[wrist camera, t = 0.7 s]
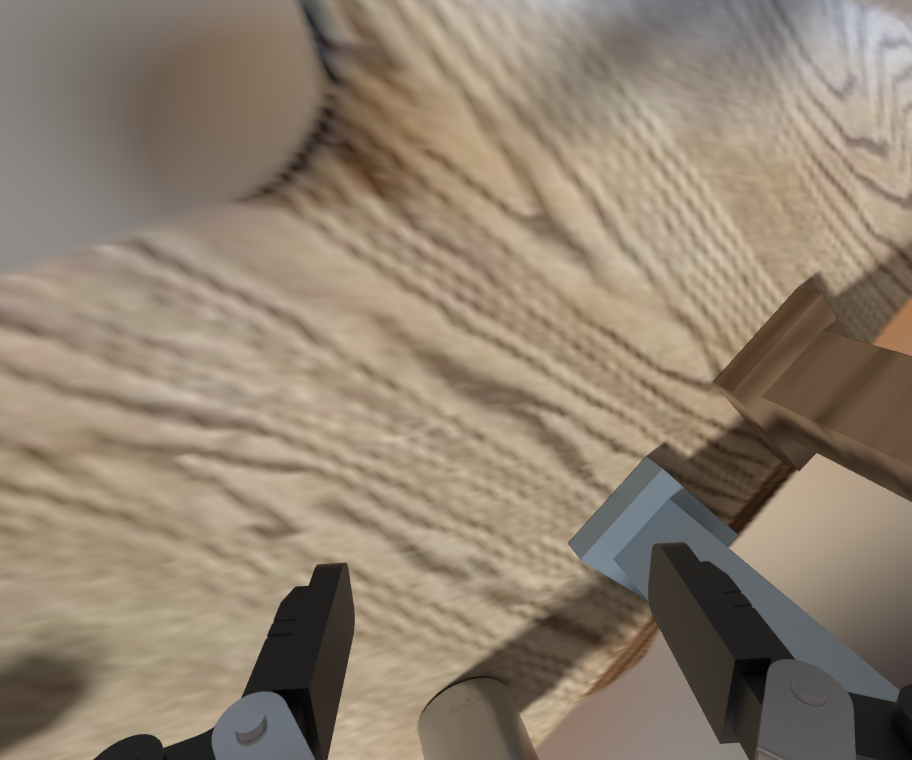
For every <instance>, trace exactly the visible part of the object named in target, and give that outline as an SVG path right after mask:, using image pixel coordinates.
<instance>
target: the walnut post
mask: <svg viewBox="0 0 912 760" xmlns="http://www.w3.org/2000/svg"><path fill="white" fill-rule="evenodd" d="M713 383H714V385H715V386H716V387H717V388H718V389H719V390H720V391H721V393H722V394H723V395H724V396H725V397H726V398H727V399H728V401H729V402H730V403H731V404H732V405H733V406H734V408H735V409H736V410H737V411H738V412H739V413H740V414H741V416H742V417H743V418H744V419H745V420H746V421H747V422H748V424H749V425H750V426H751V427H752V428H753V429H754V430H755V432H756V433H757V434H758V435H759V436H760V437H761V439H762V440H763V441H764V442H765V443H766V444H767V445H768V447H769V448H770V449H771V450H772V451H773V452H774V453H775V455H776V456H777V457H778V458H779V459H780V460H781V461H783V462H785V463H786V464H788V465H790V466H792V467H793V468H795V469H797V470H799V471H800V470H801V469H802V468H803V467H804V466H805V465H806V464H807V462H808V461H809V460H810V459H811V458H812V457H813V456H814V455H815V454H816V453H818V454H820V455H822V456H824V457H826V458H828V459H830V460H832V461H834V462H836V463H838V464H839V465H841V466H843V467H845V468H847V469H849V470H851V471H853V472H855V473H857V474H859V475H861V476H863V477H865V478H866V479H868V480H870V481H872V482H874V483H876V484H878V485H880V486H882V487H884V488H886V489H888V490H890V491H892V492H894V493H895V494H897V495H899V496H901V497H903V498H905V499H907V500H909V501H911V502H912V356H910V355H906V354H903V353H900V352H896V351H892V350H889V349H885V348H882V347H878V346H875V345H871V344H868V343H864V342H861V341H857V340H854V339H850V338H848V337H847V335H846V333H845V332H844V330H843V328H842V326H841V325H840V323H839V321H838V320H837V318H836V316H835V314H834V313H833V311H832V309H831V307H830V306H829V304H828V302H827V301H826V299H825V297H824V295H823V294H822V293H821V292H816V291H811V290H807V289H802V288H797V289H796V290H795V292H794V293H793V294H792V295H791V296H790V297H789V298H788V299H787V300H786V302H785V303H784V304H783V305H782V306H781V307H780V308H779V309H778V310H777V312H776V313H775V314H774V315H773V316H772V317H771V318H770V319H769V321H768V322H767V323H766V324H765V325H764V326H763V327H762V328H761V329H760V331H759V332H758V333H757V334H756V335H755V336H754V337H753V338H752V339H751V341H750V342H749V343H748V344H747V345H746V346H745V347H744V348H743V349H742V351H741V352H740V353H739V354H738V355H737V356H736V357H735V358H734V359H733V361H732V362H731V363H730V364H729V365H728V366H727V367H726V368H725V369H724V371H723V372H722V373H721V374H720V375H719V376H718V377H717V378H716V380H715V381H714V382H713Z"/></svg>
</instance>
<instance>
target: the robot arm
mask: <svg viewBox="0 0 912 760" xmlns="http://www.w3.org/2000/svg"><path fill="white" fill-rule="evenodd" d="M648 600H649V605H650V609H651V612H652V615H653V617H654V619H655V621H656V623H657V625H658V627H659V628H660V630H661V632H662V634H663V636H664V638H665V640H666V642H667V644H668V646H669V647H670V649H671V651H672V653H673V655H674V657H675V659H676V661H677V663H678V665H679V666H680V668H681V670H682V672H683V674H684V676H685V678H686V680H687V681H688V684H689V686H690V687H691V689H692V691H693V693H694V695H695V697H696V699H697V700H698V703H699V705H700V706H701V708H702V710H703V712H704V714H705V716H706V718H707V720H708V722H709V723H710V725H711V727H712V729H713V731H714V733H715V735H716V737H717V739H718V740H719V742H720V744H724V743H740V744H741V746H742V748H743V750H744V751H745V753H746V755H747V757H748V759H749V760H912V684H910V685H907V686H905V687H903V688H902V689H901V690H900V692H899V694H898V697H897V700H896V702H893V701H888V700H883V699H879V698H874V697H869V696H865V695H860V694H855V693H851V692H847V691H846V690H845V689H844V687H843V686H842V685H841V684H840V683H839V682H838V681H837V680H836V679H835V678H833V677H832V676H831V675H829V674H828V673H826V672H825V671H823V670H822V669H820V668H818V667H816V666H814V665H811V664H809V663H806V662H803V661H799V660H796V659H795V658H794V657H793V655H792V654H791V653H790V652H789V650H788V649H787V648H786V647H785V645H784V644H783V643H782V642H781V640H780V639H779V638H778V637H777V635H776V634H775V633H774V632H773V630H772V629H771V628H770V627H769V625H768V624H767V623H766V622H765V620H764V619H763V618H762V616H761V615H760V614H759V613H758V611H757V610H756V609H755V608H753V607H752V604H751V603H750V601H749V600H748V599H747V598H746V596H745V595H744V594H742V593H741V590H740V589H739V588H738V586H737V585H736V584H735V582H734V581H733V580H732V579H731V577H730V576H729V575H728V574H727V573H725V572H724V571H722V570H721V569H720V568H718V567H717V566H715V565H714V564H713V563H711V562H710V561H701V562H700V561H699V559H698V558H697V557H696V555H695V554H694V552H693V551H692V550H691V548H690V547H689V546H688V545H687V544H686V543H685V542H671V543H655V544H654V545H653V547H652V551H651V562H650V572H649V582H648ZM354 625H355V613H354V604H353V597H352V590H351V583H350V576H349V570H348V565H347V563H331V564H318V565H316V567H315V569H314V572H313V575H312V578H311V581H310V583H309V586H299V587H295V588H294V589H293V590H292V591H291V592H290V593H289V594H288V595H287V596H286V597H285V599H284V600H283V601H282V602H281V603H280V606H279V608H278V611H277V613H276V616H275V618H274V623H273V624H272V625H271V628H270V630H269V632H268V635H267V639H266V640H265V642H264V645H263V647H262V649H261V652H260V654H259V657H258V659H257V662H256V664H255V666H254V669H253V671H252V674H251V676H250V678H249V681H248V683H247V686H246V688H245V691H244V693H243V695H242V697H241V699H240V700H238V701H237V702H235V703H234V704H233V705H231V706H230V707H229V708H228V709H227V710H226V711H225V712H224V713H223V714H222V716H221V717H220V718H219V720H218V722H217V724H216V725H215V727H213V728H212V729H210V730H208V731H206V732H205V733H202V734H200V735H198V736H195V737H193V738H190V739H187V740H184V741H182V742H179V743H176V744H173V745H171V746H168V747H165V748H163V746H162V743H161V742H160V740H159V739H157V738H156V737H154V736H152V735H147V734H139V735H134V736H131V737H128V738H125V739H123V740H120V741H118V742H117V743H115V744H113V745H111V746H110V747H108V748H107V749H106V750H104V751H103V752H102V753H100V754H99V755H98V756H97V757H96V758H95V759H94V760H327V759H328V755H329V750H330V745H331V740H332V735H333V731H334V726H335V721H336V716H337V712H338V707H339V702H340V697H341V692H342V688H343V683H344V678H345V673H346V668H347V664H348V659H349V654H350V649H351V645H352V640H353V635H354ZM418 733H419V738H420V743H421V747H422V751H423V755H424V759H425V760H539V758H538V756H537V753H536V751H535V749H534V747H533V744H532V742H531V740H530V737H529V735H528V733H527V730H526V728H525V726H524V723H523V721H522V719H521V716H520V714H519V712H518V710H517V707H516V705H515V703H514V700H513V698H512V696H511V694H510V691H509V689H508V688H507V687H506V685H505V684H504V683H502V682H500V681H499V680H495V679H492V678H476V679H471V680H467V681H464V682H461V683H459V684H456V685H454V686H452V687H450V688H449V689H447V690H445V691H444V692H442V693H441V694H440V695H439V696H437V697H436V698H435V699H434V700H433V701H432V702H431V703H430V704H429V705H428V706H427V708H426V709H425V711H424V712H423V713H422V716H421V718H420V720H419V725H418Z"/></svg>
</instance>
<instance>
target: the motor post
mask: <svg viewBox="0 0 912 760" xmlns="http://www.w3.org/2000/svg"><path fill="white" fill-rule="evenodd" d="M738 536H739V535H738V534H736V533H735V532H734V531H733V530H732V529H731V528H730V527H728V526H727V525H726V524H725V523H724V522H723V521H722V520H720V519H719V518H718V517H717V516H716V515H715V514H714V513H712V512H711V511H710V510H709V509H708V508H707V507H706V506H705V505H703V504H702V503H701V502H700V501H699V500H698V499H697V498H695V497H694V496H693V495H692V494H691V493H690V492H689V491H687V490H686V489H685V488H684V487H683V486H682V485H681V484H679V483H678V482H677V481H676V480H675V479H674V478H673V477H672V476H670V475H669V474H668V473H667V472H666V471H665V470H664V469H662V468H661V467H660V466H658V465H657V464H656V463H655V462H653V461H652V460H651V459H649V458H648V457H647V456H646V457H645V459H644V460H643V461H642V462H641V463H640V464H639V465H638V466H637V467H636V469H635V470H634V471H633V472H632V473H631V474H630V475H629V476H628V477H627V479H626V480H625V481H624V482H623V483H622V484H621V485H620V486H619V487H618V489H617V490H616V491H615V492H614V493H613V494H612V495H611V496H610V497H609V499H608V500H607V501H606V502H605V503H604V504H603V505H602V506H601V507H600V509H599V510H598V511H597V512H596V513H595V514H594V515H593V516H592V518H591V519H590V520H589V521H588V522H587V523H586V524H585V525H584V526H583V528H582V529H581V530H580V531H579V532H578V533H577V534H576V535H575V536H574V538H573V539H572V540H571V541H570V542H569V543H568V544H569V545H570V547H571V548H572V549H573V551H574V552H575V553H576V555H577V556H578V557H579V558H580V560H582V561H584V562H585V563H587V564H588V565H590V566H592V567H593V568H595V569H597V570H598V571H600V572H601V573H603V574H605V575H606V576H608V577H610V578H611V579H613V580H614V581H616V582H618V583H619V584H621V585H623V586H624V587H626V588H627V589H629V590H631V591H632V592H634V593H636V594H637V595H639V596H641V597H642V598H644V599H645V600H647V601H649V600H648V582H649V572H650V562H651V551H652V547H653V545H654V544H655V543H671V542H685V543H686V544H687V545H688V546H689V547H690V548H691V550H692V551H693V552H694V554H695V555H696V557H697V558H698V559H699V561H700V562H701V561H710V562H711V563H713V564H714V565H715V566H717V567H718V568H720V569H721V570H722V571H724V572H725V573H727V574H728V575H729V576H730V577H731V579H732V580H733V581H734V582H735V584H736V585H737V586H738V588H739V589H740V590H741V593H742V594H744V595H745V596H746V598H747V599H748V600H749V601H750V603H751V604H752V607H753V608H755V609H756V610H757V611H758V613H759V614H760V615H761V616H762V618H763V619H764V620H765V622H766V623H767V624H768V625H769V627H770V628H771V629H772V630H773V632H774V633H775V634H776V635H777V637H778V638H779V639H780V640H781V642H782V643H783V644H784V645H785V647H786V648H787V649H788V650H789V652H790V653H791V654H792V655H793V657H794V658H795V659H796V660H799V661H803V662H806V663H809V664H811V665H814V666H816V667H818V668H820V669H822V670H823V671H825V672H826V673H828V674H829V675H831V676H832V677H833V678H835V679H836V680H837V681H838V682H839V683H840V684H841V685H842V686H843V687H844V689H845V690H846V691H847V692H851V693H855V694H860V695H865V696H869V697H874V698H879V699H883V700H888V701H893V702H896V700H897V697H898V694H899V692H900V691H899V690H898V689H897V688H895V687H894V686H893V685H892V684H891V683H890V682H888V681H887V680H886V679H885V678H883V677H882V676H881V675H880V674H879V673H878V672H876V671H875V670H874V669H873V668H872V667H870V666H869V665H868V664H867V663H865V662H864V661H863V660H862V659H861V658H860V657H858V656H857V655H856V654H855V653H854V652H852V651H851V650H850V649H849V648H848V647H846V646H845V645H844V644H843V643H842V642H841V641H839V640H838V639H837V638H836V637H834V636H833V635H832V634H831V633H830V632H828V631H827V630H826V629H825V628H824V627H823V626H821V625H820V624H819V623H818V622H817V621H815V620H814V619H813V618H812V617H811V616H809V615H808V614H807V613H806V612H805V611H803V610H802V609H801V608H800V607H799V606H797V605H796V604H795V603H794V602H793V601H791V600H790V599H789V598H788V597H787V596H785V595H784V594H783V593H782V592H781V591H779V590H778V589H777V588H776V587H774V586H773V585H772V584H771V583H770V582H769V581H767V580H766V579H765V578H764V577H763V576H761V575H760V574H759V573H758V572H757V571H755V570H754V569H753V568H752V567H750V566H749V565H748V564H747V563H746V562H744V561H743V560H742V559H741V558H740V557H739V556H737V555H736V554H735V553H734V552H733V551H732V550H730V549H729V548H728V546H729V545H730V544H731V543H732V542H733V541H734V540H735V539H736V538H737V537H738Z"/></svg>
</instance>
